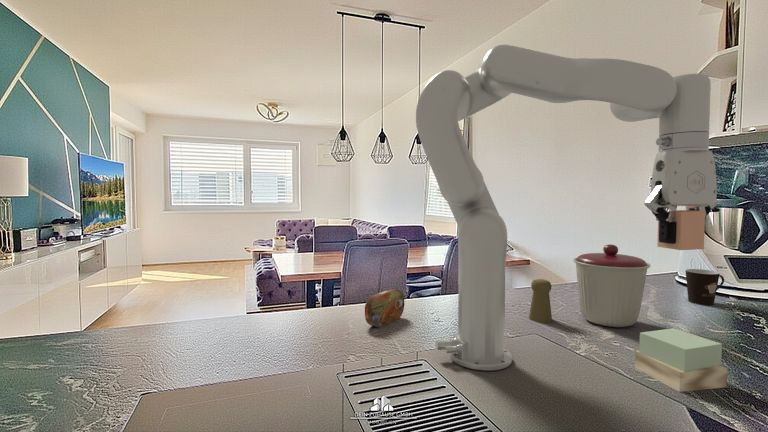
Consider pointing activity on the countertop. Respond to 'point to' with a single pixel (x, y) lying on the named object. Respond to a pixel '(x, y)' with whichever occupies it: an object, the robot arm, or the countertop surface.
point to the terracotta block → (687, 230)
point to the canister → (610, 287)
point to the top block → (680, 349)
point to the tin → (384, 308)
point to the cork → (540, 301)
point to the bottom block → (682, 374)
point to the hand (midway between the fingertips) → (680, 241)
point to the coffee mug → (702, 285)
